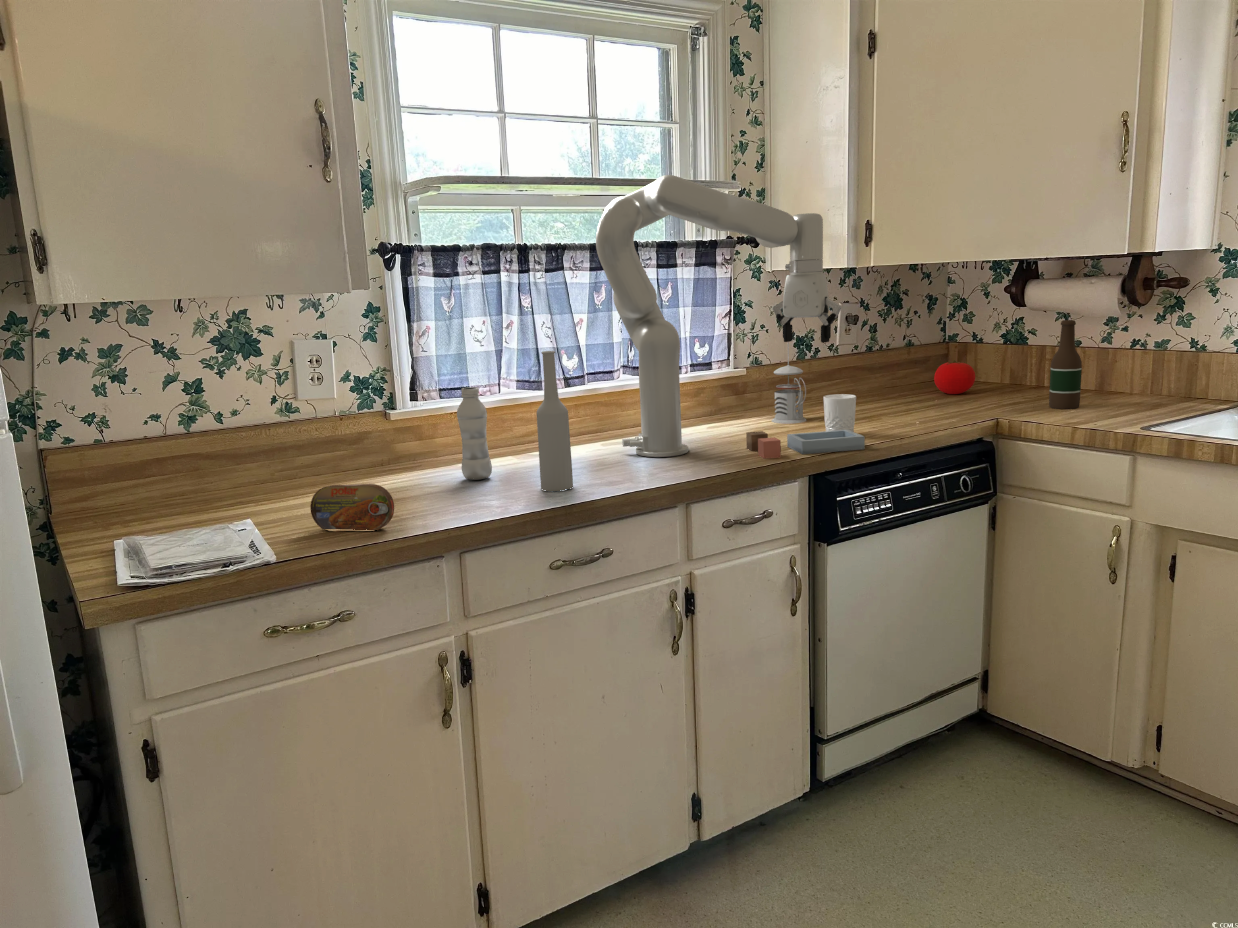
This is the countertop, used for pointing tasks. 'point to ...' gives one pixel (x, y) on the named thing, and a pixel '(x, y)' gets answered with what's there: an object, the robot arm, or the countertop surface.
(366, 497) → the tin
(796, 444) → the dish
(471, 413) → the plastic bottle
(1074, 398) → the beer bottle
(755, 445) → the block walnut
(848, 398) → the white cup
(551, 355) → the bottle
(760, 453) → the block red
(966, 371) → the tomato
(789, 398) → the french press
